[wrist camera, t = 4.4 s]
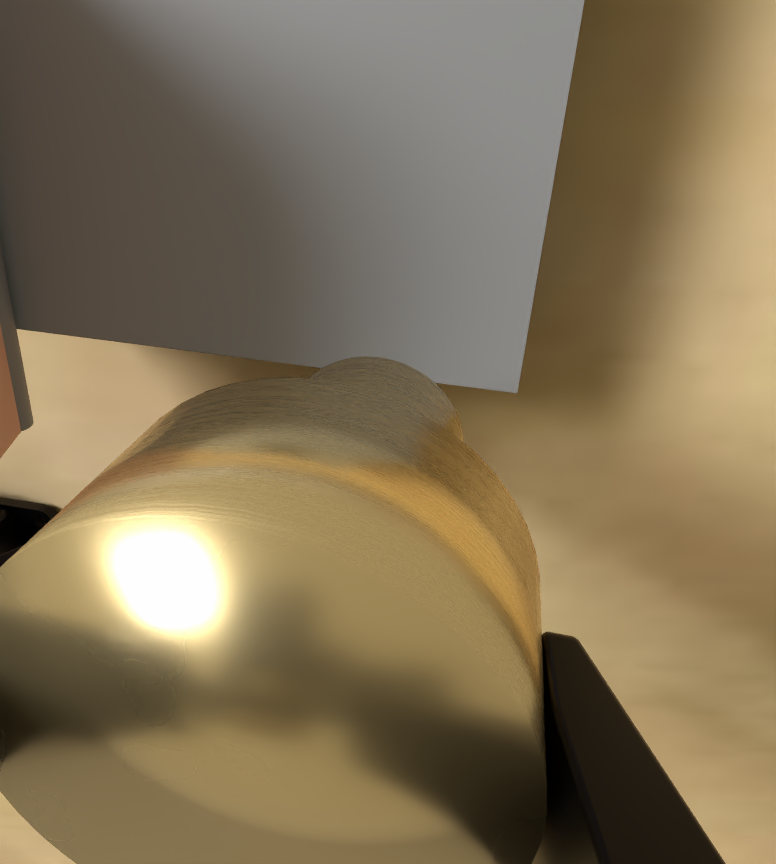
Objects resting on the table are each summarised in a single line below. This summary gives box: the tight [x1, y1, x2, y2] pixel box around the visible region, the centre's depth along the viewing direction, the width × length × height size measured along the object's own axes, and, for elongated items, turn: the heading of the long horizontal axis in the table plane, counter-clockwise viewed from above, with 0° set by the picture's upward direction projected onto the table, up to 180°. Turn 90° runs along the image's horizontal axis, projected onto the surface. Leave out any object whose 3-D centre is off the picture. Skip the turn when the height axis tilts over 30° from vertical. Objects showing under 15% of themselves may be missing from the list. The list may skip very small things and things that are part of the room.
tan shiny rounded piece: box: [0, 356, 547, 864], centre depth 10 cm, size 6×6×7 cm
